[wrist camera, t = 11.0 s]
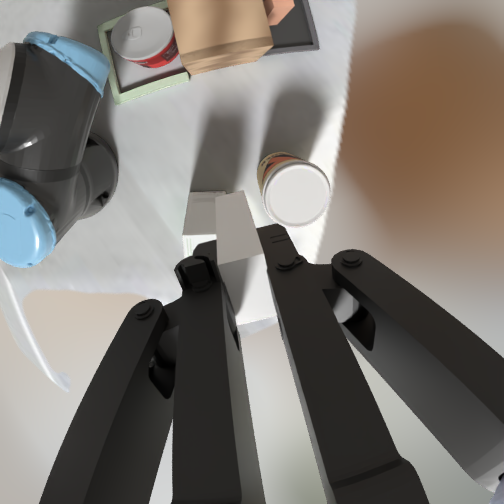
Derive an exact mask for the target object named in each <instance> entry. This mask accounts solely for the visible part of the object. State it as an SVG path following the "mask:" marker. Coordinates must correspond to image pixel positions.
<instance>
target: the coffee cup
mask: <svg viewBox="0 0 504 504" xmlns="http://www.w3.org/2000/svg"><path fill="white" fill-rule="evenodd" d="M257 180H258V184H259V188H260V192H261V196H262V201H263V206H264V208H265V211H266V212H267V214H268V215H269V217H270V218H271V219H272V220H274V221H275V222H276V223H278V224H280V225H282V226H286V227H292V228H297V227H304V226H307V225H309V224H312V223H313V222H315V221H316V220H318V219H319V218H320V217H321V216H322V215H323V213H324V212H325V210H326V209H327V206H328V204H329V200H330V184H329V181H328V179H327V177H326V175H325V173H324V172H323V171H322V170H321V169H320V168H319V167H318V166H316V165H314V164H312V163H310V162H307V161H305V160H303V159H301V158H298V157H296V156H294V155H292V154H289V153H286V152H275V153H272V154H270V155H268V156H266V157H265V158H264V159H263V160H262V161H261V163H260V164H259V167H258V170H257Z"/></svg>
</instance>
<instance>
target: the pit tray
mask: <svg viewBox="0 0 504 504" xmlns="http://www.w3.org/2000/svg"><path fill="white" fill-rule="evenodd" d="M262 1H263V2H264V0H262ZM293 1H294V5H295V6H294V7H293V8H292V9H291V10H290V11H289V12H288V13H287V15H286V16H285V17H284V18H283V19H282V20H281V21H280V22H279V23H278V24H277V25H270V26H269V28H270V32H271V36H272V40H273V44H274V46H273V47H272V48H270V49H269V50H268V51H267V52H266V53H265V54H264V55H262V56H267V55H274V54H282V53H291V52H301V51H312V50H319V49H320V48H319V44H318V40H317V36H316V31H315V27H314V23H313V19H312V16H311V12H310V8H309V5H308V1H307V0H293Z"/></svg>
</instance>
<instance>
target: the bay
mask: <svg viewBox="0 0 504 504" xmlns="http://www.w3.org/2000/svg"><path fill="white" fill-rule="evenodd" d="M149 6H154V7H158V8H161V9H163V10H164V11H166V10H169V8H168V4H167V0H165V1H162V2H159V3H155V4H152V5H149ZM124 15H125V14H124ZM122 16H123V15H122ZM122 16H119V17H117V18H115V19H112V20H110V21H108V22H105V23H103V24H101V25H99V26H97V28H98V33H99V39H100V43H101V48H102V53H103V54H104V55H105V56H106V57H107V59H108V60H109V63H110V72H109V75H108V79H109V83H110V87H111V91H112V95H113V98H114V102H115V106H116V105H120V104H122V103H125V102H127V101H130V100H133V99H135V98H138V97H141V96H144V95H146V94H149V93H152V92H155V91H158V90H161V89H164V88H168V87H171V86H174V85H177V84H181V83H184V82H188V81H190V80H189V76H188V72H184V73H180V74H177V75H173V76H170V77H167V78H164V79H161V80H158V81H155V82H152V83H149V84H146V85H143V86H140V87H138V88H135V89H132V90H130V91H127V92H124V93H122V94H121V92H120V89H119V85H118V81H117V77H116V72H115V68H114V64H113V60H112V55H111V51H110V46H109V42H108V37H107V32H108V31H111V30H113V28H114V26H115V24H116V23H117V21H118V20H119V19H120V18H121V17H122Z"/></svg>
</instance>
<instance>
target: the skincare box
mask: <svg viewBox="0 0 504 504" xmlns="http://www.w3.org/2000/svg"><path fill="white" fill-rule="evenodd" d="M222 195H226V192H225V191H212V192H190V193H189V197H188V203H187V209H186V216H185V222H184V229H183V235H182V238H183V250H184V259H185V258H187V257H189V256H192V255H193V250H194V249H195V247H196V246H197V245H198V244H200V243H204V242H208V241H211V240H215V239H216V206H215V197H218V196H222Z"/></svg>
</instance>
